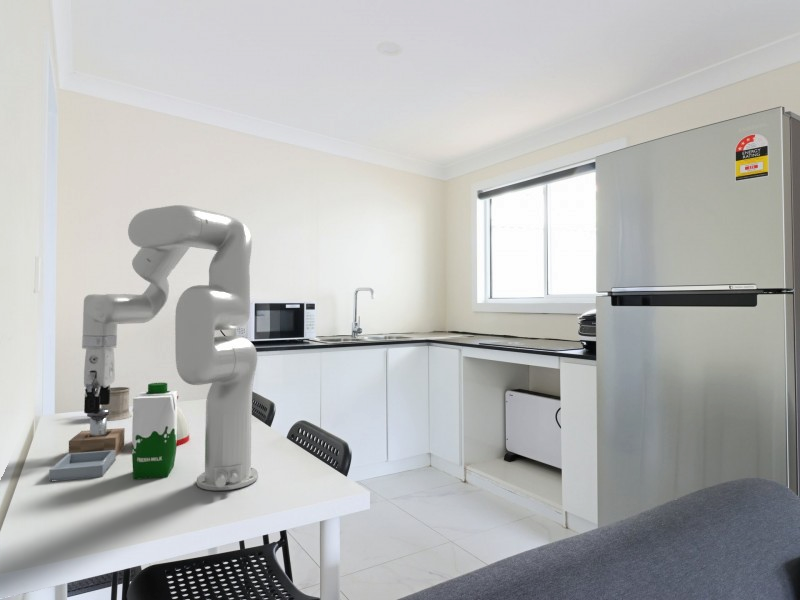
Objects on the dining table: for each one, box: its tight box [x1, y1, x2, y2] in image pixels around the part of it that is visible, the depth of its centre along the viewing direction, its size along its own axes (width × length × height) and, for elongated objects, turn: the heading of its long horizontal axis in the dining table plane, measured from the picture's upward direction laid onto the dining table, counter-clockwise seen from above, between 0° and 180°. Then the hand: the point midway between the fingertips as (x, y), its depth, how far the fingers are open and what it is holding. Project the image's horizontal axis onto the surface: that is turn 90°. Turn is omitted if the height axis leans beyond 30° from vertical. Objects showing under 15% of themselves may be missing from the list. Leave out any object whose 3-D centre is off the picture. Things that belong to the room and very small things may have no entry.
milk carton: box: [131, 382, 178, 481], centre depth 108 cm, size 9×9×20 cm
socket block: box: [68, 427, 126, 457], centre depth 122 cm, size 10×10×5 cm
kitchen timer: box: [177, 395, 190, 447], centre depth 133 cm, size 14×14×15 cm
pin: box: [86, 407, 110, 437], centre depth 122 cm, size 5×5×11 cm
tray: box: [48, 450, 117, 482], centre depth 109 cm, size 12×10×2 cm
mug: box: [100, 386, 133, 422], centre depth 163 cm, size 14×10×12 cm
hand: (97, 408), depth 122 cm, fingers open, 9 cm apart
